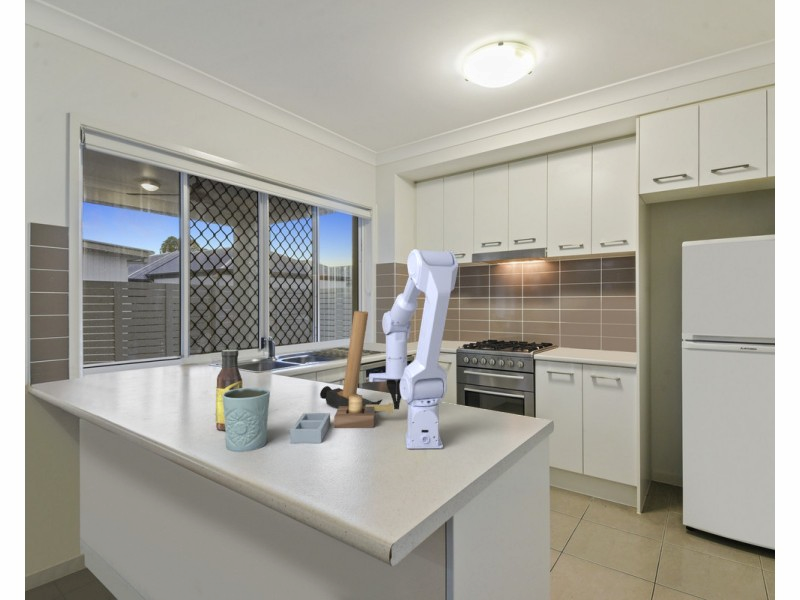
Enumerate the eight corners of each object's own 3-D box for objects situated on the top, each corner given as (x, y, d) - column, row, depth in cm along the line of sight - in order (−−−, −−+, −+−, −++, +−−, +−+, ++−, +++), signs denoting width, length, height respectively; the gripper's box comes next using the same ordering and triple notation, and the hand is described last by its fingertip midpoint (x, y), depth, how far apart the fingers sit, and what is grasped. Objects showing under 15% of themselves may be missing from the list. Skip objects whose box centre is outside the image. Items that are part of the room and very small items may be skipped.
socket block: (373, 427, 106) (373, 411, 106) (334, 428, 106) (334, 411, 106) (375, 416, 116) (375, 401, 116) (339, 416, 116) (339, 401, 116)
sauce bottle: (232, 432, 103) (232, 352, 103) (210, 430, 104) (210, 351, 104) (247, 424, 109) (247, 348, 109) (226, 423, 110) (225, 348, 110)
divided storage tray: (320, 443, 95) (320, 429, 95) (290, 443, 95) (290, 430, 95) (330, 424, 109) (330, 413, 109) (303, 424, 109) (303, 413, 109)
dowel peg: (361, 424, 109) (361, 397, 109) (348, 424, 109) (348, 397, 109) (362, 420, 113) (362, 394, 113) (349, 420, 113) (349, 394, 113)
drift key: (392, 412, 110) (392, 405, 110) (365, 412, 110) (365, 406, 110) (392, 409, 113) (392, 402, 113) (366, 409, 113) (366, 403, 113)
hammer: (379, 418, 122) (395, 318, 119) (368, 423, 118) (384, 319, 115) (330, 397, 133) (342, 305, 130) (318, 400, 129) (331, 305, 126)
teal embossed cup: (254, 434, 101) (254, 385, 101) (279, 444, 95) (279, 391, 94) (213, 446, 93) (213, 392, 93) (237, 457, 87) (237, 399, 87)
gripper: (422, 355, 116) (422, 404, 116) (370, 355, 115) (370, 404, 115) (424, 359, 108) (424, 411, 109) (368, 359, 108) (368, 411, 108)
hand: (396, 408), depth 111 cm, fingers closed
